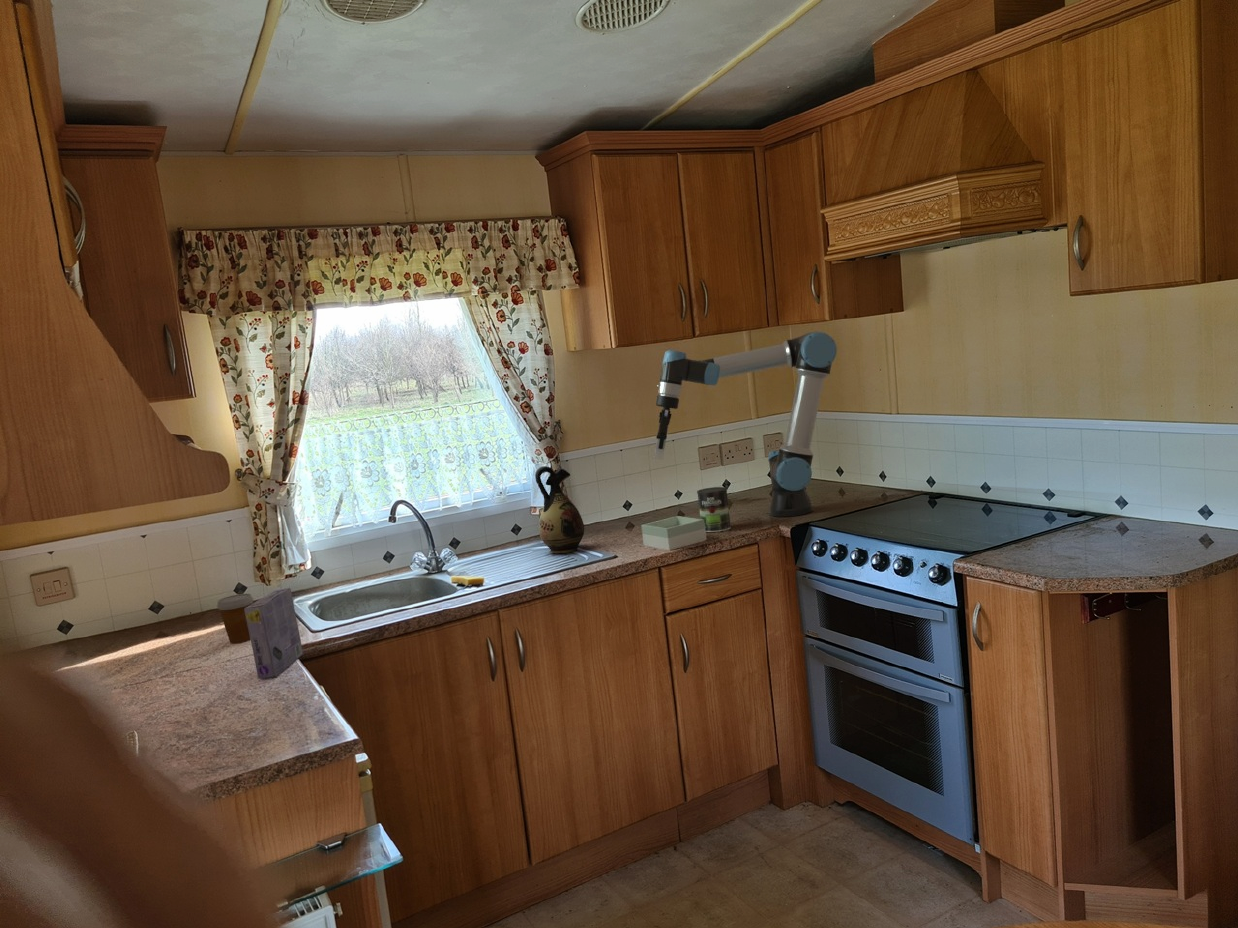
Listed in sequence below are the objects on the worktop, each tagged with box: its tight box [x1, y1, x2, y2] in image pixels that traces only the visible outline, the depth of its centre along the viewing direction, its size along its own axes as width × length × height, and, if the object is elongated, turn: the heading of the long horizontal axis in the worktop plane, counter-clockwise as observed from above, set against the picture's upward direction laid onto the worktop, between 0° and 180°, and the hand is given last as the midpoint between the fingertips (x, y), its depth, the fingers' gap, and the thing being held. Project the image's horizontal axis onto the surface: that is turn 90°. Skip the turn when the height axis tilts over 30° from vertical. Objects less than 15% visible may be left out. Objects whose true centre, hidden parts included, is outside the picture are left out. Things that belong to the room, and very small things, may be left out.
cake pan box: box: [244, 587, 304, 680], centre depth 231 cm, size 19×5×18 cm, turn 178°
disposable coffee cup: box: [216, 593, 254, 644], centre depth 262 cm, size 10×10×12 cm
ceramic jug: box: [534, 465, 585, 554], centre depth 324 cm, size 17×15×30 cm
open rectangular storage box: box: [640, 515, 707, 551], centre depth 315 cm, size 15×15×7 cm
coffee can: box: [696, 486, 732, 533], centre depth 327 cm, size 10×10×14 cm
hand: (658, 457), depth 324 cm, fingers open, 13 cm apart
